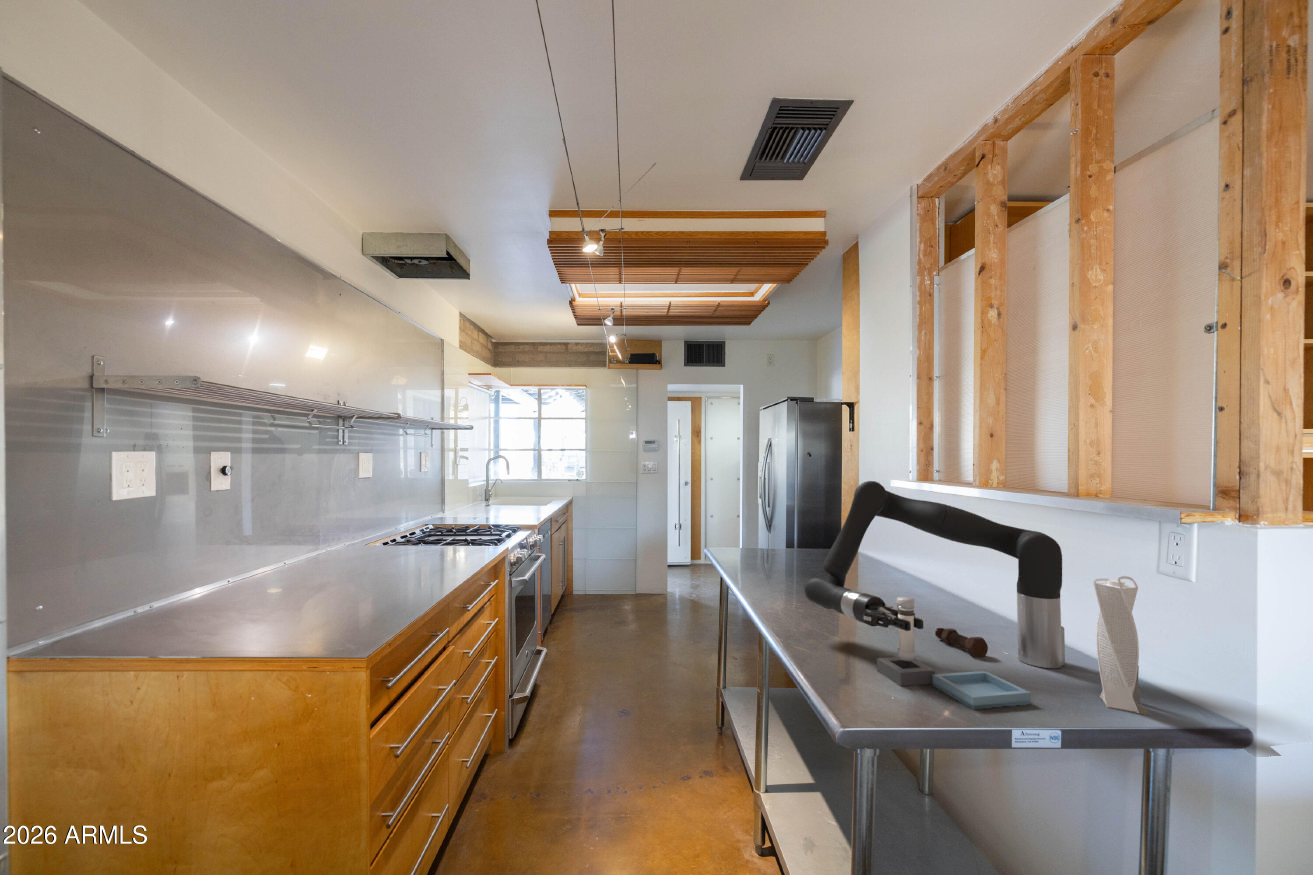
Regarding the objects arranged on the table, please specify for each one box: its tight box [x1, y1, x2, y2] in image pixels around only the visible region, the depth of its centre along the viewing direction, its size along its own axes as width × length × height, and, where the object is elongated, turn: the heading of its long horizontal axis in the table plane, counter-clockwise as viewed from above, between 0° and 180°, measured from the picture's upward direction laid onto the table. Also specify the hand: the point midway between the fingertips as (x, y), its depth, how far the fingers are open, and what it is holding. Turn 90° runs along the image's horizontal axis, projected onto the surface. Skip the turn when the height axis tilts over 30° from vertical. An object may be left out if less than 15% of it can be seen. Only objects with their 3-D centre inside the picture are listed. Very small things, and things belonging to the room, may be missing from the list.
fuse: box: [896, 596, 917, 661], centre depth 127 cm, size 4×4×14 cm
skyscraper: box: [1093, 575, 1152, 716], centre depth 114 cm, size 8×8×28 cm
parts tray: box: [932, 670, 1031, 710], centre depth 118 cm, size 14×12×2 cm
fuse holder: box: [876, 656, 936, 687], centre depth 127 cm, size 9×9×3 cm
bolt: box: [934, 627, 989, 659], centre depth 148 cm, size 6×5×15 cm
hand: (915, 625), depth 125 cm, fingers closed on fuse, 3 cm apart
